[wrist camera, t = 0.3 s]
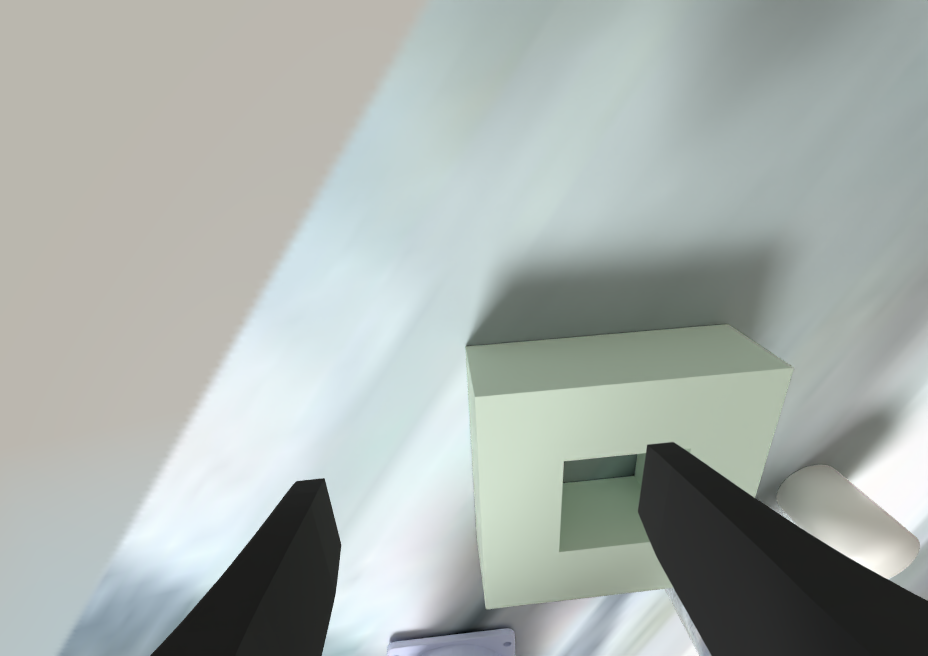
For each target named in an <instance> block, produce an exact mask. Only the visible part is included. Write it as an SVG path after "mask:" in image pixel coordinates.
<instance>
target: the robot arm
mask: <svg viewBox="0 0 928 656" xmlns="http://www.w3.org/2000/svg"><path fill="white" fill-rule="evenodd" d="M638 513H639V516H640V518H641V521H642V523H643V526H644V528H645V531H646V534H647V536H648V538H649V541H650V543H651V545H652V548H653V550H654V552H655V555H656V557H657V559H658V561H659V562H660V564H661V566H662V568H663V570H664V572H665V573H666V575H667V577H668V579H669V581H670V582H671V584H672V586H673V588H674V590H675V592H676V593H677V595H678V597H679V599H680V600H681V602H682V604H683V606H684V608H685V609H686V611H687V613H688V615H689V617H690V618H691V620H692V622H693V624H694V625H695V627H696V629H697V631H698V633H699V634H700V636H701V638H702V640H703V641H704V643H705V645H706V647H707V649H708V650H709V652H710V654H711V656H928V601H927V600H925V599H923V598H921V597H919V596H917V595H915V594H913V593H911V592H910V591H908V590H906V589H904V588H902V587H901V586H899V585H897V584H895V583H893V582H892V581H890V580H888V579H886V578H884V577H882V576H881V575H879V574H877V573H875V572H873V571H872V570H870V569H868V568H866V567H864V566H863V565H861V564H859V563H857V562H856V561H854V560H852V559H851V558H849V557H847V556H845V555H844V554H842V553H840V552H839V551H837V550H835V549H834V548H832V547H830V546H829V545H827V544H826V543H824V542H822V541H821V540H819V539H818V538H816V537H814V536H813V535H811V534H809V533H808V532H806V531H805V530H803V529H801V528H800V527H798V526H797V525H795V524H793V523H792V522H790V521H789V520H787V519H786V518H784V517H783V516H781V515H780V514H778V513H777V512H775V511H774V510H772V509H771V508H769V507H768V506H766V505H765V504H763V503H762V502H760V501H759V500H757V499H756V498H754V497H753V496H751V495H750V494H748V493H747V492H745V491H744V490H743V489H741V488H740V487H738V486H737V485H735V484H734V483H732V482H731V481H730V480H728V479H727V478H725V477H724V476H722V475H721V474H720V473H718V472H717V471H715V470H714V469H712V468H711V467H710V466H708V465H707V464H705V463H704V462H702V461H701V460H700V459H698V458H697V457H695V456H694V455H692V454H691V453H689V452H688V451H687V450H685V449H684V448H682V447H681V446H679V445H678V444H676V443H674V442H668V443H658V444H649V445H647V449H646V456H645V464H644V471H643V478H642V485H641V492H640V499H639V506H638ZM340 551H341V542H340V538H339V534H338V530H337V526H336V522H335V518H334V514H333V510H332V506H331V502H330V498H329V494H328V490H327V486H326V482H325V478H323V479H313V480H304V481H296V482H295V483H294V484H293V486H292V487H291V488H290V489H289V491H288V492H287V493H286V494H285V496H284V497H283V498H282V500H281V501H280V502H279V504H278V505H277V506H276V508H275V509H274V510H273V512H272V513H271V514H270V516H269V517H268V518H267V519H266V521H265V522H264V523H263V525H262V526H261V527H260V529H259V530H258V531H257V532H256V534H255V535H254V536H253V538H252V539H251V540H250V541H249V543H248V544H247V545H246V546H245V548H244V549H243V550H242V551H241V553H240V554H239V555H238V556H237V557H236V559H235V560H234V561H233V562H232V564H231V565H230V566H229V567H228V569H227V570H226V571H225V572H224V574H223V575H222V576H221V577H220V578H219V580H218V581H217V582H216V583H215V584H214V585H213V587H212V588H211V589H210V590H209V591H208V592H207V593H206V595H205V596H204V597H203V598H202V599H201V600H200V601H199V603H198V604H197V605H196V606H195V607H194V608H193V610H192V611H191V612H190V613H189V614H188V615H187V616H186V618H185V619H184V620H183V621H182V622H181V623H180V624H179V625H178V626H177V628H176V629H175V630H174V631H173V632H172V633H171V634H170V635H169V636H168V637H167V638H166V639H165V641H164V642H163V643H162V644H161V645H160V646H159V647H158V648H157V649H156V650H155V651H154V652H153V653H152V654H151V655H150V656H322V652H323V647H324V643H325V639H326V634H327V630H328V625H329V621H330V617H331V612H332V608H333V603H334V598H335V594H336V586H337V578H338V570H339V560H340ZM387 655H388V656H515V634H514V631H513V630H512V629H509V628H505V629H497V630H488V631H480V632H471V633H463V634H455V635H446V636H438V637H429V638H421V639H413V640H404V641H396V642H392V643H390V644H389V645H388V647H387Z"/></svg>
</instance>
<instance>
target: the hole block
mask: <svg viewBox="0 0 928 656" xmlns="http://www.w3.org/2000/svg"><path fill="white" fill-rule="evenodd" d="M465 349H466V365H467V382H468V399H469V416H470V433H471V449H472V466H473V483H474V500H475V517H476V533H477V544H478V552H479V560H480V567H481V575H482V583H483V591H484V599H485V607H486V610H487V609H495V608H504V607H512V606H521V605H529V604H538V603H547V602H555V601H564V600H572V599H581V598H589V597H598V596H607V595H615V594H624V593H632V592H641V591H649V590H658V589H667V588H673V586H672V584H671V582H670V581H669V579H668V577H667V575H666V573H665V572H664V570H663V568H662V566H661V564H660V562H659V561H658V559H657V557H656V555H655V552H654V550H653V548H652V545H651V543H650V541H649V538H648V536H647V534H646V531H645V528H644V526H643V523H642V521H641V518H640V516H639V513H638V506H639V499H640V492H641V485H642V478H643V471H644V464H645V456H646V449H647V445H649V444H658V443H668V442H674V443H676V444H678V445H679V446H681V447H682V448H684V449H685V450H687V451H688V452H689V453H691V454H692V455H694V456H695V457H697V458H698V459H700V460H701V461H702V462H704V463H705V464H707V465H708V466H710V467H711V468H712V469H714V470H715V471H717V472H718V473H720V474H721V475H722V476H724V477H725V478H727V479H728V480H730V481H731V482H732V483H734V484H735V485H737V486H738V487H740V488H741V489H743V490H744V491H745V492H747V493H748V494H750V495H751V496H753V497H754V498H755V496H756V493H757V490H758V486H759V483H760V480H761V476H762V473H763V470H764V466H765V463H766V460H767V456H768V453H769V450H770V446H771V443H772V440H773V436H774V433H775V430H776V426H777V423H778V420H779V416H780V413H781V410H782V406H783V403H784V400H785V396H786V393H787V390H788V386H789V383H790V380H791V376H792V373H793V370H794V367H792V366H791V365H789V364H788V363H786V362H785V361H783V360H781V359H780V358H778V357H777V356H775V355H774V354H772V353H771V352H769V351H768V350H766V349H765V348H763V347H762V346H760V345H759V344H757V343H756V342H754V341H753V340H751V339H750V338H748V337H747V336H745V335H744V334H742V333H741V332H739V331H738V330H736V329H735V328H733V327H731V326H730V325H728V324H722V325H710V326H698V327H687V328H675V329H663V330H652V331H640V332H629V333H617V334H605V335H594V336H582V337H570V338H559V339H547V340H535V341H524V342H512V343H501V344H489V345H477V346H466V347H465ZM632 454H637V461H636V468H635V475H634V476H628V477H618V478H609V479H599V480H589V481H580V482H570V483H563V468H564V461H572V460H582V459H592V458H602V457H612V456H622V455H632Z"/></svg>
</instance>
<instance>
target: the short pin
mask: <svg viewBox="0 0 928 656" xmlns="http://www.w3.org/2000/svg"><path fill="white" fill-rule="evenodd" d="M776 499H777V503H778V505H779V506H780V508H781V509H782V510H783V511H784V512H785V513H786V514H787V515H788V516H789V517H790V518H791V519H792V520H793V522H794V523H795V524H796V525H797V526H798V527H800V528H801V529H803V530H805V531H806V532H808V533H809V534H811V535H813V536H814V537H816V538H818V539H819V540H821V541H822V542H824V543H826V544H827V545H829V546H830V547H832V548H834V549H835V550H837V551H839V552H840V553H842V554H844V555H845V556H847V557H849V558H851V559H852V560H854V561H856V562H857V563H859V564H861V565H863V566H864V567H866V568H868V569H870V570H872V571H873V572H875V573H877V574H879V575H881V576H882V577H884V578H886V579H889V578H891V577H893V576H895V575H897V574H899V573H900V572H902V571H903V570H904V569H906V568H907V567H908V566H909V565H910V564H911V563H912V562H913V561H914V559H915V558H916V556H917V555H918V552H919V549H920V542H919V540H918V539H917V537H915V536H914V535H913V534H912V533H911V532H909V531H908V530H907V529H906V528H905V527H903V526H902V525H901V524H900V523H899V522H898V521H896V520H895V519H894V518H893V517H892V516H890V515H889V514H888V513H887V512H886V511H884V510H883V509H882V508H881V507H880V506H878V505H877V504H876V503H875V502H874V501H873V500H871V499H870V498H869V497H868V496H867V495H865V494H864V493H863V492H862V491H861V490H859V489H858V488H857V487H856V486H855V485H853V484H852V483H851V482H850V481H849V480H847V479H846V478H845V477H844V476H843V475H842V474H840V473H839V472H838V471H837V470H836V469H834V468H833V467H831V466H828V465H822V464H819V465H811V466H808V467H805V468H802V469H800V470H798V471H796V472H795V473H793V474H792V475H790V476H789V477H788V478H787V479H786V480H785V481H784V482H783V483H782V485H781V486H780V488H779V490H778V492H777V498H776Z"/></svg>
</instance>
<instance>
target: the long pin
mask: <svg viewBox="0 0 928 656" xmlns="http://www.w3.org/2000/svg"><path fill="white" fill-rule="evenodd" d="M665 591H666V593H667V595H668V597H669V598H670V600H671V602H672V604H673V606H674V608H675V610H676V612H677V614H678V616H679V618H680V620H681V622H682V624H683V626H684V628H685V629H686V631H687V633H688V635H689V637H690V639H691V641H692V643H693V645H694V647H695V649H696V651H697V653H698V655H699V656H711V654H710V652H709V650H708V649H707V647H706V645H705V643H704V641H703V640H702V638H701V636H700V634H699V633H698V631H697V629H696V627H695V625H694V624H693V622H692V620H691V618H690V617H689V615H688V613H687V611H686V609H685V608H684V606H683V604H682V602H681V600H680V599H679V597H678V595H677V593H676V592H675V590H674V588H667V589H665Z"/></svg>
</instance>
